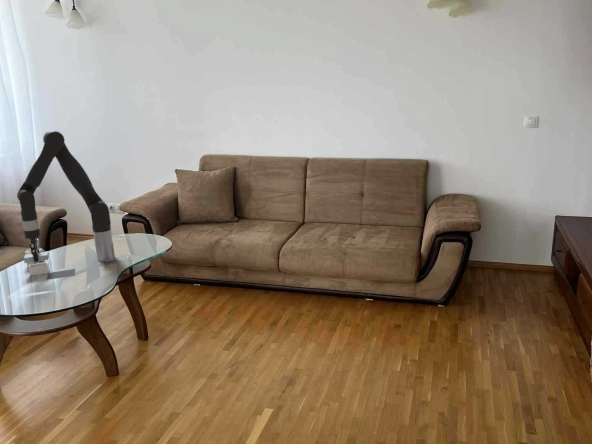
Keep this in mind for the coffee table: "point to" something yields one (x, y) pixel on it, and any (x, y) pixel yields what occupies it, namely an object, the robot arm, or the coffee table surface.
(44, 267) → the white open cubby box
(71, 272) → the mat
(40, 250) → the teacup with lid
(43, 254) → the lid
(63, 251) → the coffee table surface
